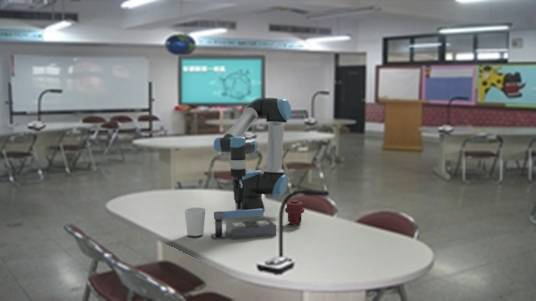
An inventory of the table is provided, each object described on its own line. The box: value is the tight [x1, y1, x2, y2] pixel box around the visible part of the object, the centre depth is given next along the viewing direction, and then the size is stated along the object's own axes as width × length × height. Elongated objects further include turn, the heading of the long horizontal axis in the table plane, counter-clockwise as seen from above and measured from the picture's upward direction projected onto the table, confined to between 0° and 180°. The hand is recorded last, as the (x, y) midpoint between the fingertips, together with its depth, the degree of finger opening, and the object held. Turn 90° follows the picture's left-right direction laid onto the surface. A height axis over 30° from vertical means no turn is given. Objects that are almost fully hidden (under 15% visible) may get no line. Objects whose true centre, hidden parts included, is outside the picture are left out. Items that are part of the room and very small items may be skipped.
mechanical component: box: [284, 199, 305, 226], centre depth 282 cm, size 12×10×10 cm
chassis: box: [225, 219, 277, 240], centre depth 263 cm, size 12×22×5 cm, turn 108°
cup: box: [184, 206, 206, 238], centre depth 261 cm, size 10×10×13 cm
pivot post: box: [210, 219, 227, 240], centre depth 258 cm, size 6×6×9 cm
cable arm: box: [213, 209, 264, 221], centre depth 260 cm, size 24×4×3 cm, turn 108°
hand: (238, 215), depth 269 cm, fingers closed
